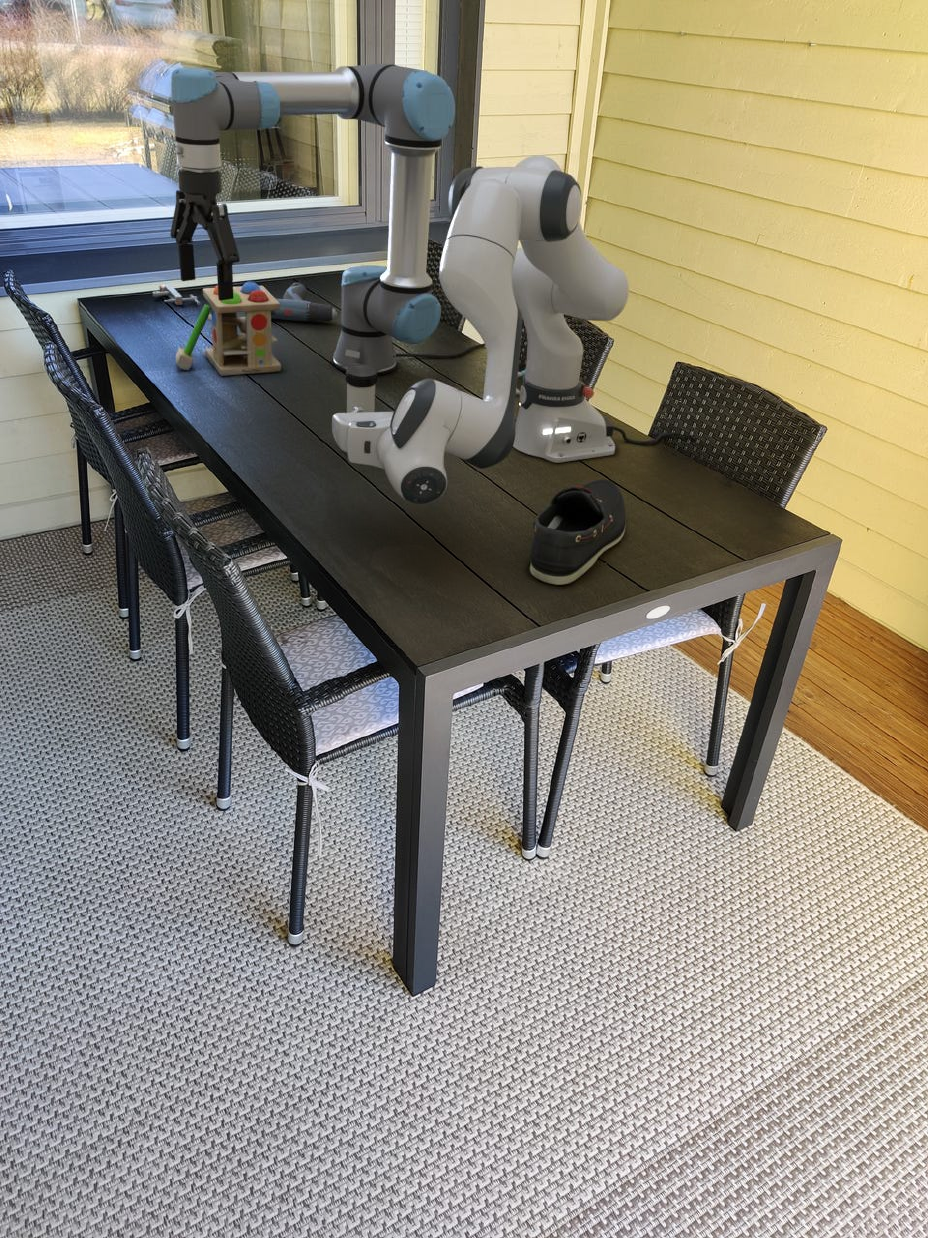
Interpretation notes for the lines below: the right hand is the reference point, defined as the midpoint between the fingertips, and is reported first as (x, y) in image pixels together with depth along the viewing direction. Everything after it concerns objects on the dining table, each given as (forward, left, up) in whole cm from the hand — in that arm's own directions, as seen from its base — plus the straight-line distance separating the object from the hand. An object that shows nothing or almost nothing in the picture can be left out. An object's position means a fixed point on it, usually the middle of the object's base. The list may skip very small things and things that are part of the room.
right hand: (384, 409), depth 170 cm
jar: (0, -22, -18) cm, 28 cm away
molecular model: (-43, -53, -18) cm, 71 cm away
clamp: (+33, -120, -18) cm, 126 cm away
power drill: (-1, -110, -18) cm, 111 cm away
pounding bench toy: (+23, -71, -18) cm, 77 cm away
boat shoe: (-32, +19, -18) cm, 41 cm away
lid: (0, -22, -2) cm, 22 cm away
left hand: (+27, -36, +10) cm, 46 cm away
